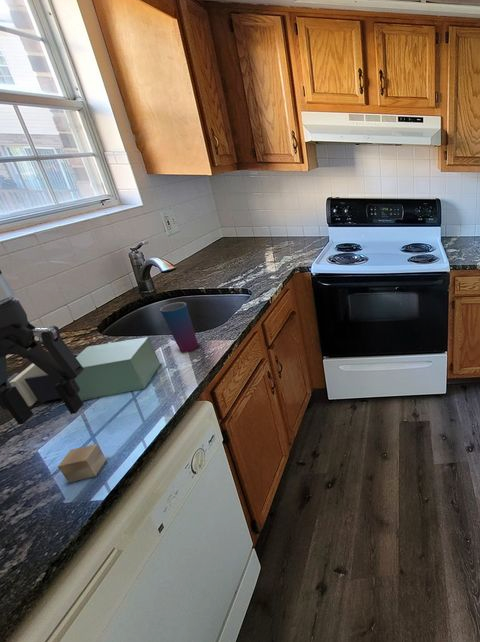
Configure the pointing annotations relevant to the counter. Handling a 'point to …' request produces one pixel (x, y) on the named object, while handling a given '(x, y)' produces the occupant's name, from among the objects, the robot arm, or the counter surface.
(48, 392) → the black and cream piece
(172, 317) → the cup
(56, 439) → the counter surface
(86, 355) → the green box
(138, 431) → the counter surface
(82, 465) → the block
